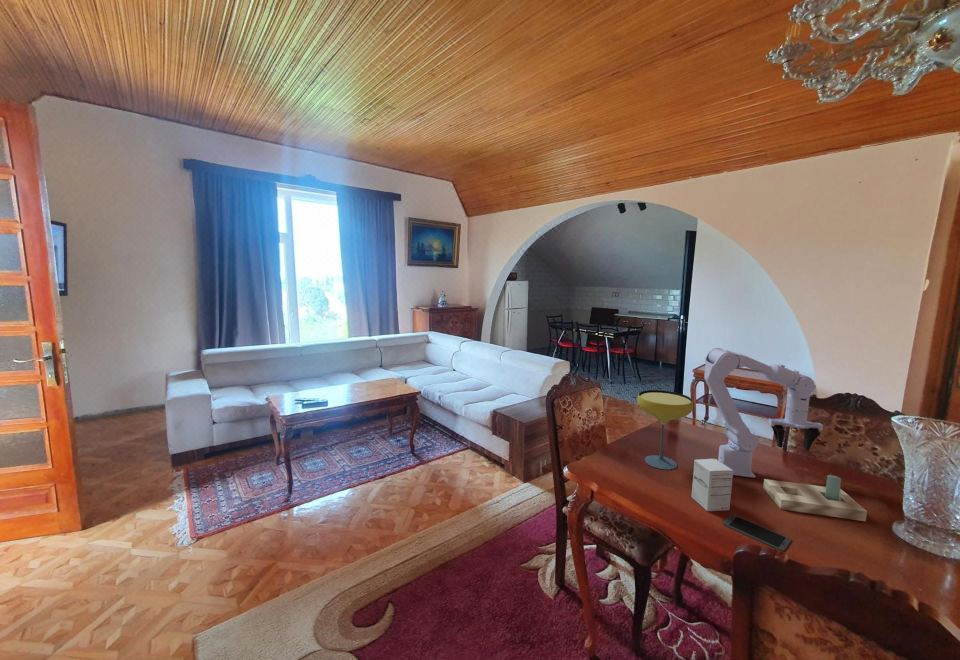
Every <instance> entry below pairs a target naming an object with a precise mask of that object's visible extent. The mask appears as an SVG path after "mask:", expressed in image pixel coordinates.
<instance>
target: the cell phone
mask: <svg viewBox="0 0 960 660" xmlns="http://www.w3.org/2000/svg"><path fill="white" fill-rule="evenodd" d="M721 524H722V525H723V526H724V527H727V528H728V529H730V530H732V531H735V532H737V533H740V534H742V535H744V536H746V537H748V538H750V539H753V540H754V541H757V542H759V543H761V544H763V545H765V546H768V547H770V548H772V549H774V548H775V550H776V549H778V550H777V551H779V550H781V551H783V552H782V553H784V552H786V551H785V550H787V549H789V546H790V544H792V539H791V538H790V537H788V536H786V535H783V534H782V533H779V532H777V531H774V530H771V529H769V528H767V527H765V526H762V525H761V524H758V523H756V522H754V521H750V520H748V519H746V518H743V517H742V516H739V515H736V514H735V513H732V514H730V515H729V516H728V517H726V518H725V520H723V522H722V523H721ZM781 551H780V552H781Z"/></svg>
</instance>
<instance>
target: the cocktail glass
mask: <svg viewBox="0 0 960 660" xmlns="http://www.w3.org/2000/svg"><path fill="white" fill-rule="evenodd" d="M636 400H637V401H636V402H637V405H638V407H639V408H640V409H641V410H642V411H643V412H645V413H646V414H648V415H650V416H651V417H654V418H655V419H657V421H658V422H659V423H660V424H661V438H660V447H659V448H660V449H659V450H660V451H659V455H656V454H653V455H647V456H646V457H645V458H644V461H645V463H646V464H647V465H648V466H650V467H652V468H654V467H655V469H657V468H658V470H662V469H663V470H665V471H671V469H672V470H675V469H677V468H678V464H677V462H676V461H674V460H673V459H672V458H670V457H666V456H664V453H663V452H664V451H663V450H664V431H665V425H667V424H668V422H670V421H673V420H676V419H681V418H684V417H686V416H689V415H690V414H691V413H692V412H693V409H694V400H693V399H692V398H691V397H690V396H688V395H685V394H683V393H678V392H676V391H669V390H659V389H650V390H643V391H640V392H638V395H637V398H636ZM669 458H670V459H669ZM663 470H662V471H663Z"/></svg>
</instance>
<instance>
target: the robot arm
mask: <svg viewBox="0 0 960 660" xmlns="http://www.w3.org/2000/svg"><path fill="white" fill-rule="evenodd" d="M704 362H705V367H704V374H703V375H704V376H703V377H704V381H705V384H706V385H707V387H708V390H709V391H710V393H711V395H712V397H713V400H714V402H715V404H716V406H717V408H718V410H719V411H720V415H721V416H722V418H723V420H724V424H723V425H724V428H725V437H727V439H728V440H727V441H728V442H727V444H720V445H719V447H718V459H717V460H718V461H720V462H721V463H723V464H724V465H726V466H727V467H729V468H730V469H732V470H733V476H736V477H737V476H738V477H746V478H752V479H753V478H756V476H757V475H755V474H754V472H753V471H752V463H753V455H754V453H753V452H754V450H755V449H756V448H757V447H758V445H759V440H758V438H757V437H756V435H754V434H753V433H752V432H751V430H750V428H749V427H748V426H747V425H746V424H745V422H744V420H743V419H742V416H741V414H740V412H739V409H737V406H736V404H735V402H734V401H733V400H734V399H733V397H732V396H731V393H730V392H729V390H728V388H727V385H726V384H725V380H726V378H727V376H729V374H731V373H732V372H733V371H735V369H741V368H748V369H750V370H752V371H753V370H754V371H756V372H758V373H761V374H764V376H765V379H767V380H768V381H770V382H773V383H776V384H778V385H781V386H783V387H785V388H787V392H786V393H787V394H786V395H787V396H786V404H785V413H784V418H768V425H769V426H770V428H772V431H773V433H774V437H775V442H776V445H777V447H778V448H782V447H783V443H784V442H783V441H784V436H785V433H786V430H785V429H784V427H788V428H797V429H798V428H799V429H803V449H804V450H806V451H810V449H811V447H812V445H813V443H814V442H815V440H816V439H818V437H819V436H820V435H821V432H820V431H822V432H823V430H824V429H823V428H824V425H823V424H822V423H820V422H812V421H808V414H809V405H810V398H811V395H812V393H813V392H814V391H815V390H816V387H817V385H815V382H814V380H813V378H811V377H809V376H807V375H805V374H802V373H800V371H798V370H791V369H789V368H786V365H783V364H780V363H778V364H777V363H773V364H770V365H768V364H766V363H764V362H760V361H759V360H757V359H754V358H752V357H749V356H747V355H744V354H742V353H738V352H735V351H731V350H725V349H723V348H720V347H714V348H712V349H711V350H709V351H708V353H707V354H706V356H705V357H704Z"/></svg>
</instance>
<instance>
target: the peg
mask: <svg viewBox="0 0 960 660" xmlns="http://www.w3.org/2000/svg"><path fill="white" fill-rule="evenodd" d="M841 483H842V478H841V477H839V476H837V475H833V474H828V475H827V476H826V484H825V487H826V491H825V498H826V499H827V500H834V501H839V493H840V489H841Z"/></svg>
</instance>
